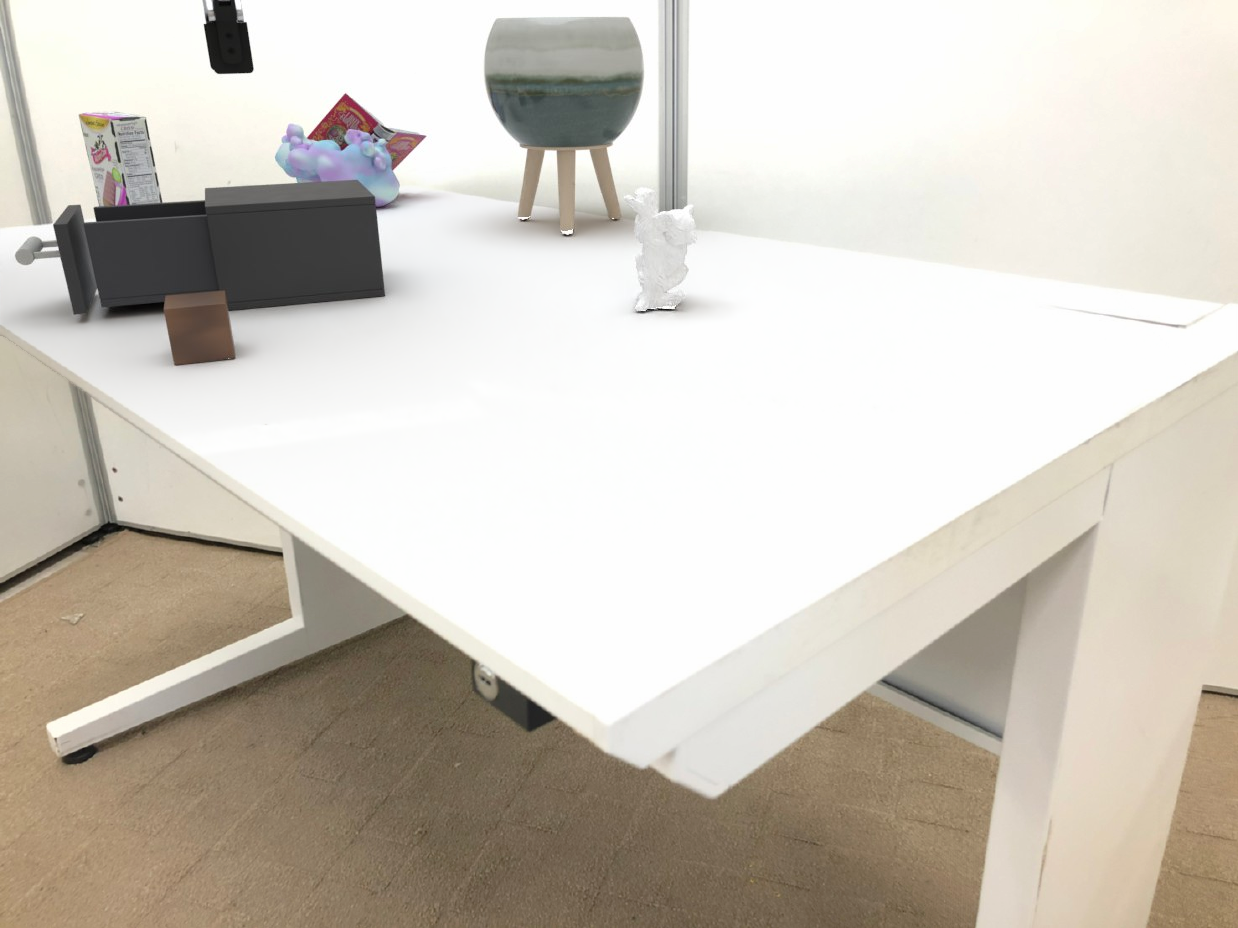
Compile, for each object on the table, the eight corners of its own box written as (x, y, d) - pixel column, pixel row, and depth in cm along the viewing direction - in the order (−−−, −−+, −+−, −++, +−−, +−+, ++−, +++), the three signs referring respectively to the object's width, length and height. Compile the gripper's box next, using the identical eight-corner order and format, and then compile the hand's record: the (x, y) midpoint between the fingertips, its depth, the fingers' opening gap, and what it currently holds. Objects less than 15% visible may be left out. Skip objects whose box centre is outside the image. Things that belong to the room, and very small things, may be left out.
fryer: (222, 311, 103) (204, 206, 99) (220, 282, 115) (204, 188, 110) (385, 296, 108) (375, 196, 104) (367, 270, 120) (357, 179, 116)
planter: (657, 214, 154) (658, 17, 143) (625, 242, 135) (624, 16, 123) (520, 210, 159) (511, 19, 148) (470, 236, 139) (455, 18, 128)
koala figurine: (638, 318, 99) (638, 194, 94) (607, 303, 105) (605, 186, 100) (710, 308, 103) (713, 188, 98) (676, 294, 108) (678, 180, 103)
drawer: (24, 319, 97) (1, 228, 94) (42, 290, 108) (22, 207, 104) (239, 299, 104) (225, 213, 100) (236, 274, 114) (223, 196, 111)
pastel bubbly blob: (262, 186, 152) (312, 78, 147) (266, 163, 170) (311, 67, 166) (385, 248, 161) (436, 148, 156) (377, 220, 179) (422, 129, 175)
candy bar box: (102, 234, 142) (76, 113, 136) (137, 229, 146) (113, 110, 139) (135, 245, 135) (109, 117, 129) (171, 239, 139) (148, 114, 132)
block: (174, 365, 86) (163, 308, 84) (175, 349, 91) (165, 295, 89) (235, 358, 88) (226, 303, 86) (234, 343, 92) (225, 290, 90)
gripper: (149, -137, 89) (186, 70, 96) (144, -172, 74) (187, 76, 81) (239, -134, 91) (268, 68, 98) (250, -167, 77) (284, 73, 83)
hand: (231, 71), depth 89 cm, fingers open, 9 cm apart
